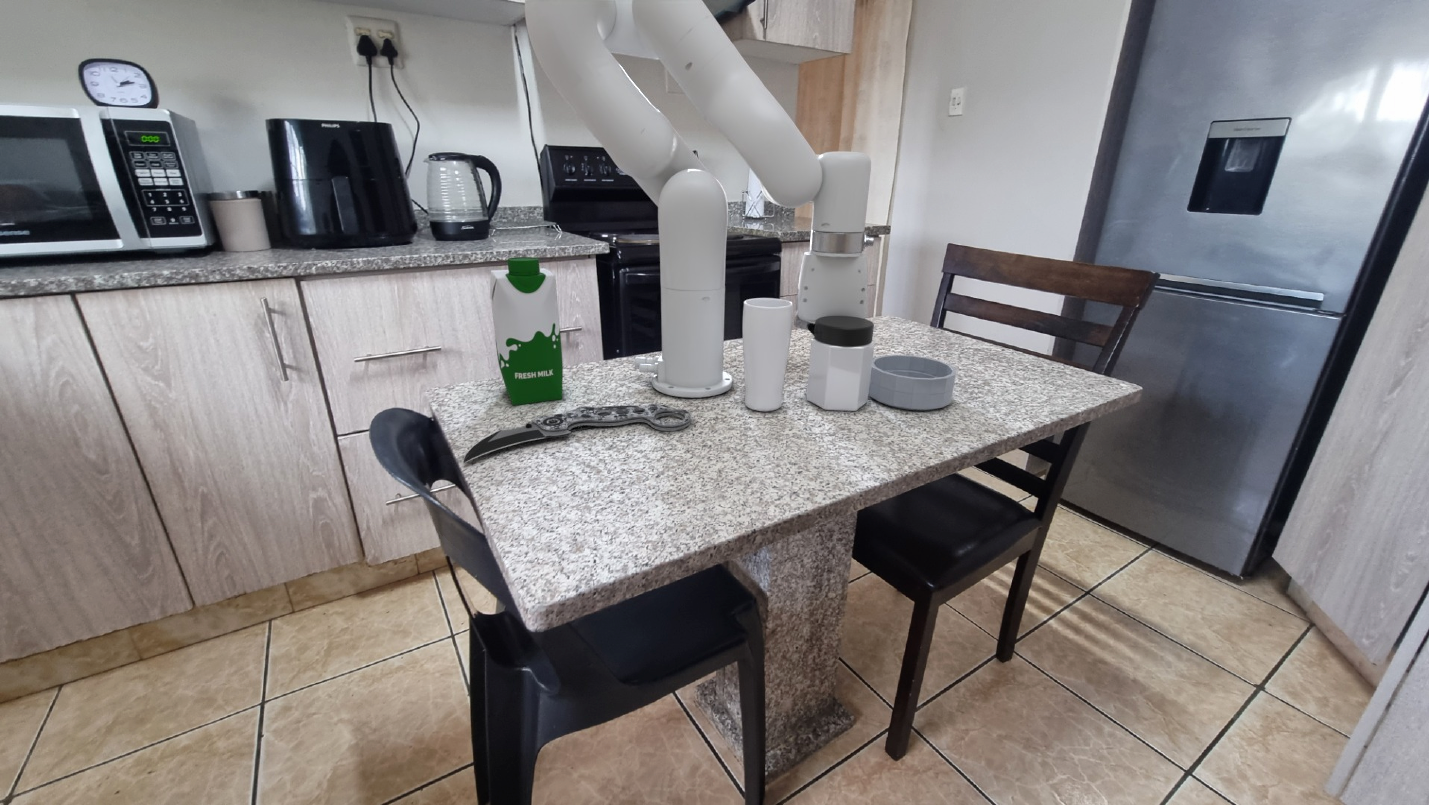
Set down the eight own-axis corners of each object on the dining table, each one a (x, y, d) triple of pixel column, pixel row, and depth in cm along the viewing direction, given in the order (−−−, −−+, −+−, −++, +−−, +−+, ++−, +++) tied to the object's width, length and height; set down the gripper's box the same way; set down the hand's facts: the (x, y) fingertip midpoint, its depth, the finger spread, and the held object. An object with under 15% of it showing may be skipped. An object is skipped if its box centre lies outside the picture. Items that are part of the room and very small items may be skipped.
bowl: (874, 410, 83) (879, 377, 81) (860, 383, 94) (863, 353, 92) (962, 414, 82) (968, 380, 80) (936, 386, 93) (941, 356, 92)
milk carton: (506, 409, 81) (490, 262, 74) (499, 388, 88) (483, 254, 81) (570, 400, 84) (559, 259, 77) (557, 381, 92) (547, 252, 85)
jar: (823, 387, 92) (830, 312, 87) (873, 398, 87) (883, 320, 83) (798, 404, 85) (804, 323, 80) (851, 416, 80) (860, 331, 76)
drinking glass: (773, 418, 79) (779, 309, 74) (730, 408, 83) (734, 303, 77) (794, 403, 85) (801, 301, 79) (753, 394, 88) (757, 295, 83)
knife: (462, 458, 63) (458, 420, 72) (464, 470, 64) (459, 432, 72) (701, 423, 75) (673, 394, 83) (700, 434, 75) (673, 404, 83)
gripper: (883, 243, 87) (870, 360, 94) (783, 240, 88) (777, 356, 95) (894, 248, 80) (878, 374, 87) (785, 245, 81) (778, 370, 88)
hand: (825, 365), depth 91 cm, fingers closed
